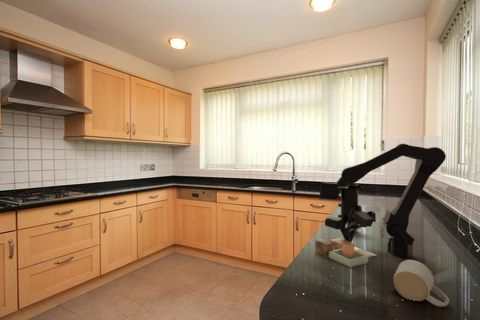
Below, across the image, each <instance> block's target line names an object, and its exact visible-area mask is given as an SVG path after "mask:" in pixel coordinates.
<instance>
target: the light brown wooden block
mask: <svg viewBox="0 0 480 320" xmlns="http://www.w3.org/2000/svg"><path fill="white" fill-rule="evenodd" d="M329 240H330V241H329V242H332V243H333V250H338V249H342V243H351V244H353V243H352V242H353V241H352V242H350V241H347V240H345V239H344V238H341V237H339V238H338V237H337V238H332V239H329Z"/></svg>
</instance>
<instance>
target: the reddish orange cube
mask: <svg viewBox="0 0 480 320" xmlns="http://www.w3.org/2000/svg"><path fill="white" fill-rule="evenodd" d="M354 247H355V244H354V243H342V256H344V257H346V258H348V259H353V258H354Z"/></svg>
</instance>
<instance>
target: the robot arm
mask: <svg viewBox="0 0 480 320" xmlns="http://www.w3.org/2000/svg"><path fill="white" fill-rule="evenodd" d="M401 157H405V158H409V159H413V160H416V161H415V165H414V171H413V173H412V176H411V177H410V180H409V181H408V183H407V185H406V187H405V189H404V191H403V193H402V195H401V197H400V199H399V201H398V202H397V204H396V206H395V207H394V209H392V210H389V209H386V212H385V215H384V217H383V218H382V219H381V220H382V221H383V222H382V226H383V229H384V230H385V231H386V233H387V234H388V236H390V237H389V238H388V241H387V252H388V253H390V254H391V255H392V256H395V257H399V258H404V259H406V260H409V259H411V258H413V257H414V242H415V238H414V237H413V236H412V235H411V234H410V233H409V231H407V230H408V227H409V222H410V215H411V212H412V211H413V209H414V206H415V205H416V203H417V200H418V199H419V198H420V195H421V193H422V192H423V190H424V188H425V186H426V184H427V182H428V180H429V178H430V177H431V176H432V175H433V174H434V173H435V172H437V170H438V169H439V168H440V167H441V166H442V164H443V163H444V162H445V160H446V157H447V155H446V152H445V151H444V150H443V149H441V148H440V147H438V146H437V147H436V146H434V147H422V146H415V145H411V144H406V143H399V144H397V145H395V146H394V147H392V148H390V149H388V150H386V151H384V152H383V153H380V154H378V155H376V156H375V157H372V158H370V159H368V160H366V161H364V162H361V163H359V164H354V165H352V166H348V167H345V168H344V169H343V170H342V171H341V173H340V175H341V176H340V178H339V179H337V180H336V182H327V181H321V182H320V190H319V200H320V201H330V202H331V201H333V202H334V201H335V202H336V200H337V199H339V198H340V203H338V207H340V213H339V214H338V215H337V217H334V216H331V217H326V218H325V219H324V227H325V226H326V227H329V228H332V229H335V230H339V231H340V232H341V234H342V237H343V239H344V240H347V241H350V242H353V240H354V237H355V235H356V233H357V232H358V230H360V229H362V228H367V227H369V228H370V227H372V226H373V223H374V222H376V221H377V219H376V218H377V216H376V212H374V211H373V210H368V211H363V210H362V206H361V205H360V204H359V191H365V187H363V186H362V185H361V183H359V182H358V181H360V180H361V179H362V178H364V177H365V176H366V175H368V174H369V173H370V172H372V171H374V170H376V169H379V168H381V167H382V166H384V165H386V164H389V163H391V162H392V161H395V160H398V158H401ZM355 183H357V184H355ZM346 185H347V186H346ZM356 231H357V232H356Z"/></svg>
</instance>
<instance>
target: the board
mask: <svg viewBox="0 0 480 320" xmlns="http://www.w3.org/2000/svg"><path fill="white" fill-rule="evenodd" d="M354 251H357V252H359V253H362V254H364V255H367V256H368V259H369V258H372V257H376V256H377V254H375V253H373V252H371V251H368V250H365V249H362V248H360V247H356V246H354ZM314 252H315V253H317V252H316V251H315V250H314ZM326 258H328V259H330V258H329V256H327V257H326ZM331 260H332V261H334V260H333V259H331Z"/></svg>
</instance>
